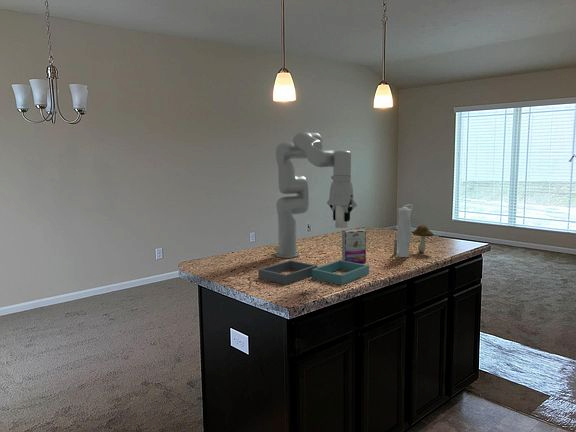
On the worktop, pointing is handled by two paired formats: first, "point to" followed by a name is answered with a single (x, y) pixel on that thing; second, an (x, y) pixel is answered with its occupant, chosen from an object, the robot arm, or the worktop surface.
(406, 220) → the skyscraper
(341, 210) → the canister
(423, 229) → the mushroom
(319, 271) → the bin
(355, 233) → the candy bar box
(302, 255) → the worktop surface
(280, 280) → the bin
